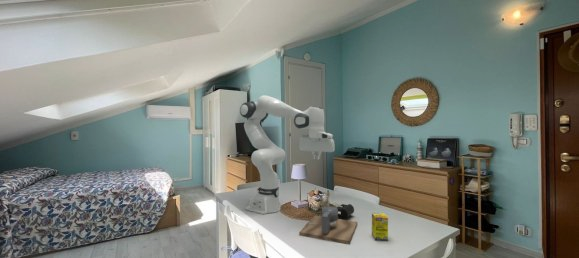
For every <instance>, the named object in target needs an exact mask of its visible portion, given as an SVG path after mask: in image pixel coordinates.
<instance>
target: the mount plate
mask: <svg viewBox="0 0 579 258" xmlns="http://www.w3.org/2000/svg"><path fill="white" fill-rule="evenodd" d="M357 226H358V221H354V220H348V219H345V220H342V219H338V220H337V221H332V222H330V229H329V231H328V233H327V234H325V233H322V215H314V216H313V217H311V219H309V221H308V222H307V223H306V225H304V227H302V228H301V230H300V231H299V234H298V235H299V236H302V237H306V238H307V237H309V238H313V239H318V240H319V239H320V240H325V241H330V242H335V243H340V244H346V245H351V241H352V239H353V236H354V234H355V231H356V229H357Z"/></svg>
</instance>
